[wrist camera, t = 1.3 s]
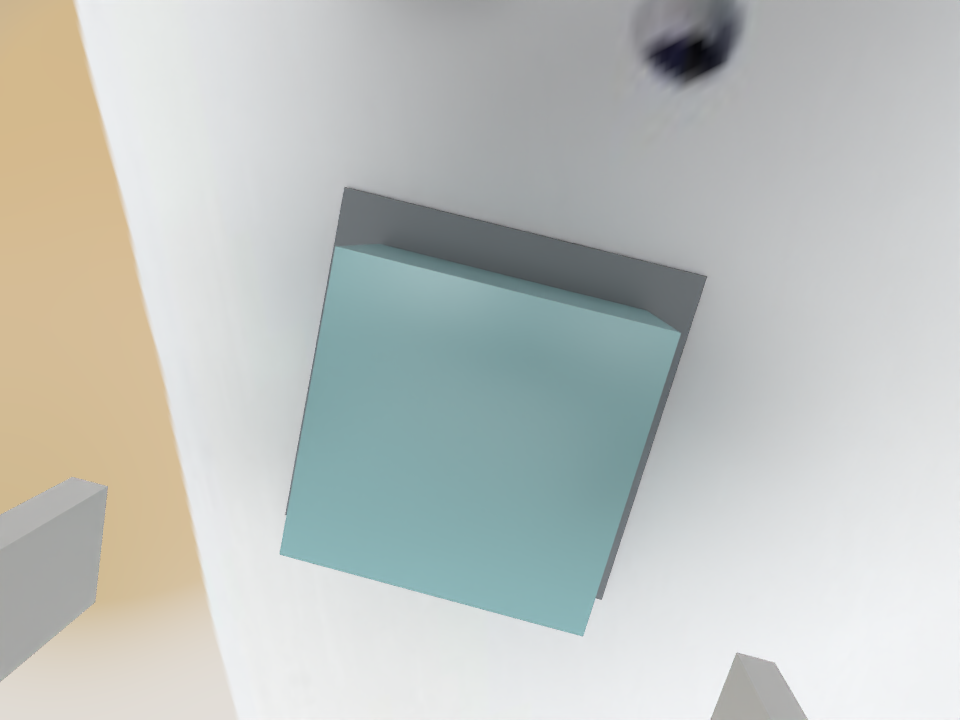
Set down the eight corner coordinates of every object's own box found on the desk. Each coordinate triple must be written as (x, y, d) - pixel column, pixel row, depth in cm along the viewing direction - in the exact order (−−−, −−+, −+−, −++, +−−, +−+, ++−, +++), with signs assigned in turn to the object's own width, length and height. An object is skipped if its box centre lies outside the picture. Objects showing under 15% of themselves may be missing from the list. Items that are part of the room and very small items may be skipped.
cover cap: (646, 310, 25) (681, 332, 20) (572, 552, 28) (582, 636, 22) (379, 243, 26) (335, 246, 20) (331, 488, 28) (279, 554, 23)
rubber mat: (704, 275, 25) (707, 276, 25) (600, 594, 29) (601, 599, 28) (347, 187, 26) (344, 187, 25) (288, 511, 29) (285, 515, 29)
